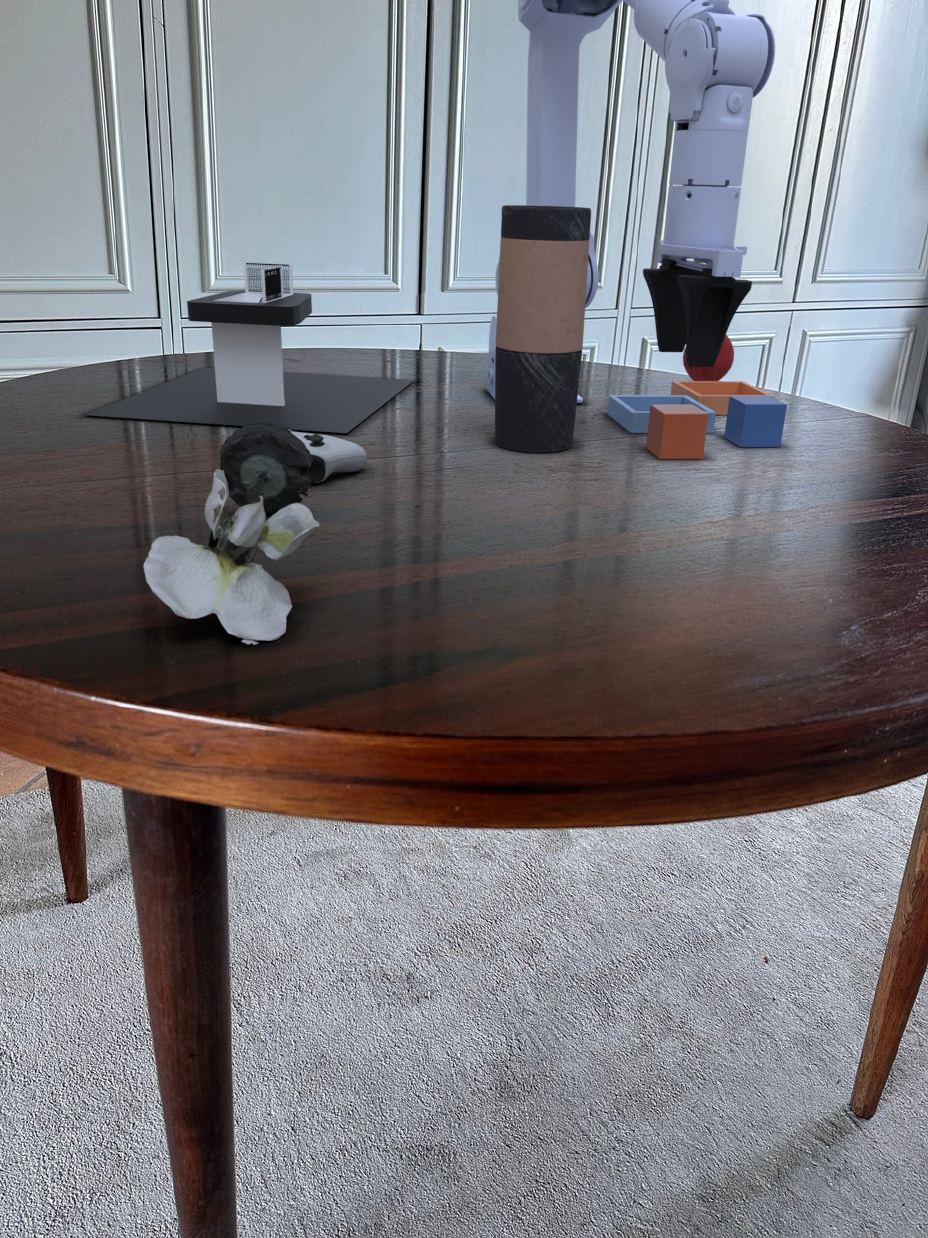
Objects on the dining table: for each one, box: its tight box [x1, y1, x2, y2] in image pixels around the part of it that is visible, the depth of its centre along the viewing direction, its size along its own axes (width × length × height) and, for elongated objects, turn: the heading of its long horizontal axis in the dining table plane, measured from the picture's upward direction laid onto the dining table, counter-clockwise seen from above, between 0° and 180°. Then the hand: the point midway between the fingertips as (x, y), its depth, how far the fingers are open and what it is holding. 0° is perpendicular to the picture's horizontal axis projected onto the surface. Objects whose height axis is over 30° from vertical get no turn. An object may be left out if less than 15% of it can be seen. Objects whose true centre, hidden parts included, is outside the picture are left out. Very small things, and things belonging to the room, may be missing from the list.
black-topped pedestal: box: [85, 260, 415, 434], centre depth 103 cm, size 28×26×13 cm
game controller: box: [278, 424, 368, 484], centre depth 79 cm, size 10×5×6 cm
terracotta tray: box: [670, 380, 775, 416], centre depth 108 cm, size 8×8×2 cm
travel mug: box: [494, 204, 592, 454], centre depth 86 cm, size 8×8×20 cm
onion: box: [682, 334, 735, 381], centre depth 116 cm, size 6×6×8 cm
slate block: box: [723, 396, 788, 448], centre depth 93 cm, size 4×4×4 cm
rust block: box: [645, 404, 708, 460], centre depth 88 cm, size 4×4×4 cm
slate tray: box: [606, 394, 717, 434], centre depth 99 cm, size 8×8×2 cm
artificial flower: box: [143, 423, 321, 646], centre depth 58 cm, size 9×22×10 cm, turn 179°
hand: (685, 358), depth 85 cm, fingers open, 7 cm apart
